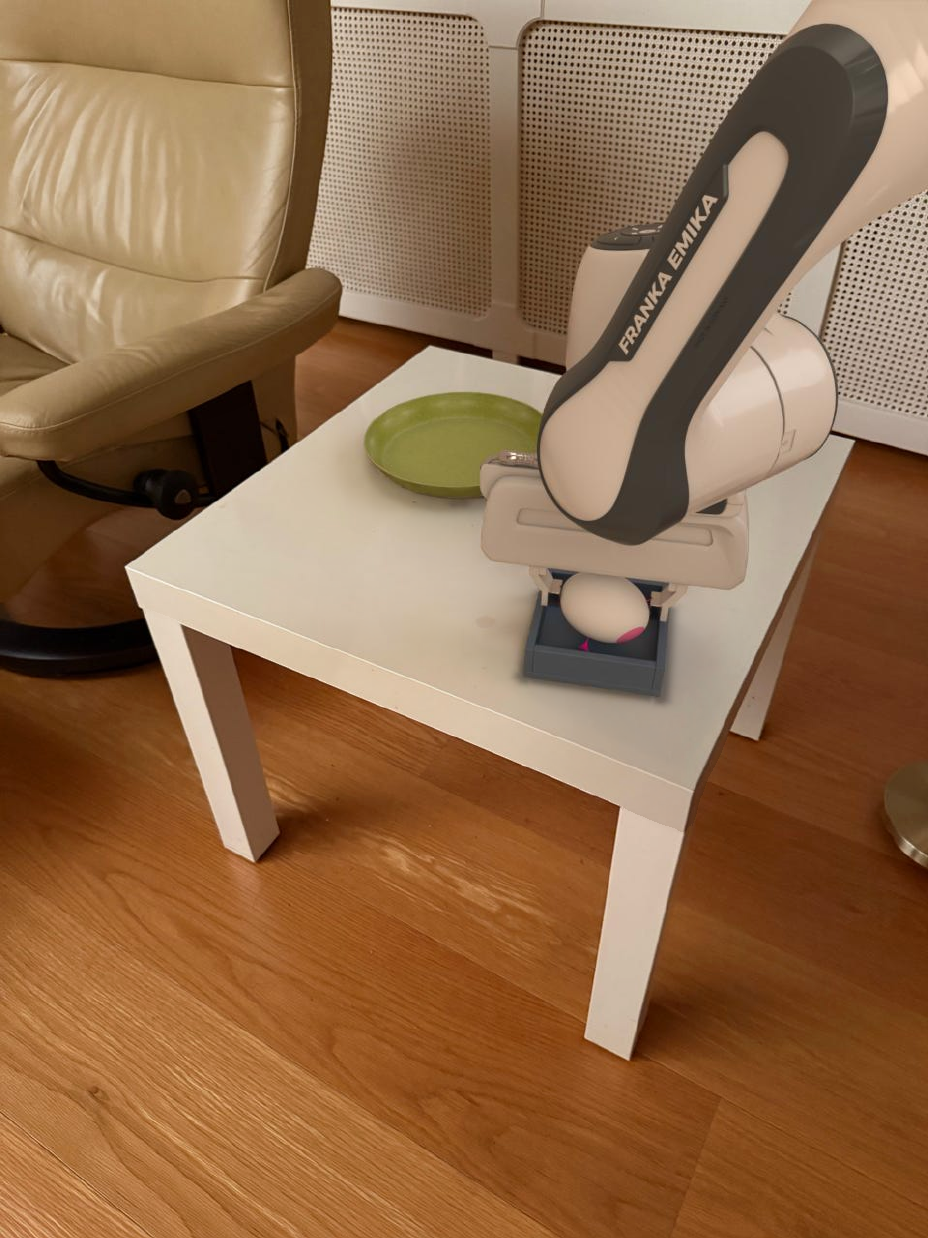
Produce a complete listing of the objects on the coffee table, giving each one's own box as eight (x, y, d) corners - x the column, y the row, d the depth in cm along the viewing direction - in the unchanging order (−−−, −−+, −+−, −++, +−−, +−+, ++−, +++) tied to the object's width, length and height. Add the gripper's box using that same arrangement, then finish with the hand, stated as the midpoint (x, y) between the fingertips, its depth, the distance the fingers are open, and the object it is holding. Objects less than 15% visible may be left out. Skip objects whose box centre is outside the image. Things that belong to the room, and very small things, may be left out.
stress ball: (645, 665, 75) (676, 593, 73) (614, 672, 68) (648, 592, 66) (568, 628, 78) (597, 559, 77) (532, 631, 71) (562, 555, 70)
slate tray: (666, 609, 77) (671, 581, 75) (659, 696, 69) (665, 668, 67) (543, 593, 79) (545, 566, 77) (523, 676, 71) (524, 648, 69)
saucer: (535, 410, 105) (536, 385, 103) (571, 504, 90) (573, 477, 88) (362, 421, 104) (360, 396, 102) (369, 520, 88) (366, 493, 86)
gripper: (470, 469, 62) (472, 617, 71) (768, 500, 59) (730, 651, 68) (487, 427, 67) (487, 570, 76) (765, 453, 63) (730, 600, 72)
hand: (604, 609), depth 72 cm, fingers closed on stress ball, 7 cm apart
